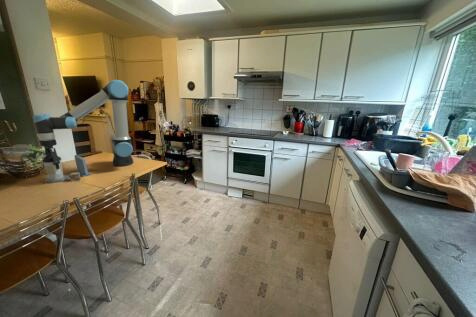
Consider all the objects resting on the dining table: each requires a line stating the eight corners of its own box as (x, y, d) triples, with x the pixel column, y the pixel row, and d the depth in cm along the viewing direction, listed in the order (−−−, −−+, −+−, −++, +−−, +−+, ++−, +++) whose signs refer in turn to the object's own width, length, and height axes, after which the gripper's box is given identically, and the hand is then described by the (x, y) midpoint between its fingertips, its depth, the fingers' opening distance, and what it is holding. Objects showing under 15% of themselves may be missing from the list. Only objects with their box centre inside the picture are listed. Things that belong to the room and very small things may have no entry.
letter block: (80, 178, 135) (79, 171, 134) (79, 180, 131) (78, 174, 130) (72, 179, 133) (70, 172, 132) (71, 181, 129) (69, 175, 128)
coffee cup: (69, 176, 135) (64, 155, 131) (56, 181, 127) (50, 159, 122) (57, 175, 136) (51, 154, 132) (43, 180, 128) (37, 158, 123)
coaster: (73, 175, 139) (73, 174, 138) (61, 182, 127) (61, 181, 127) (53, 175, 137) (53, 174, 136) (40, 183, 125) (40, 182, 125)
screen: (74, 171, 146) (71, 155, 142) (82, 169, 149) (79, 154, 146) (83, 176, 137) (79, 160, 133) (91, 174, 141) (88, 158, 137)
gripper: (34, 137, 128) (42, 168, 134) (44, 143, 114) (53, 177, 121) (49, 135, 134) (57, 165, 140) (61, 141, 120) (69, 174, 126)
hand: (55, 171), depth 130 cm, fingers open, 13 cm apart
